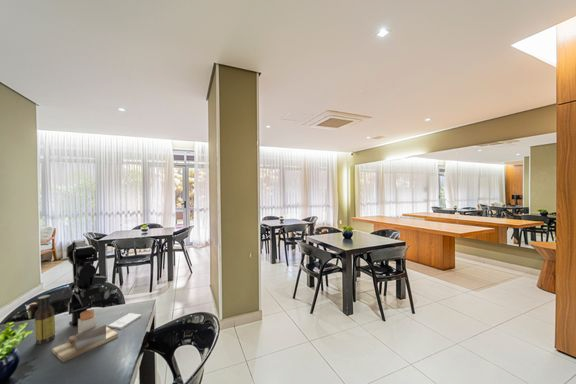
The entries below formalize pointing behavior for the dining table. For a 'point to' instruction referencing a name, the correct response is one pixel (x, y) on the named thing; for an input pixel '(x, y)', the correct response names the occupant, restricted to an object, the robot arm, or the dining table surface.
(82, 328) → the white tall block
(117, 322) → the external hard drive
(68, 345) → the mount
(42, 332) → the sauce bottle
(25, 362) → the dining table surface
